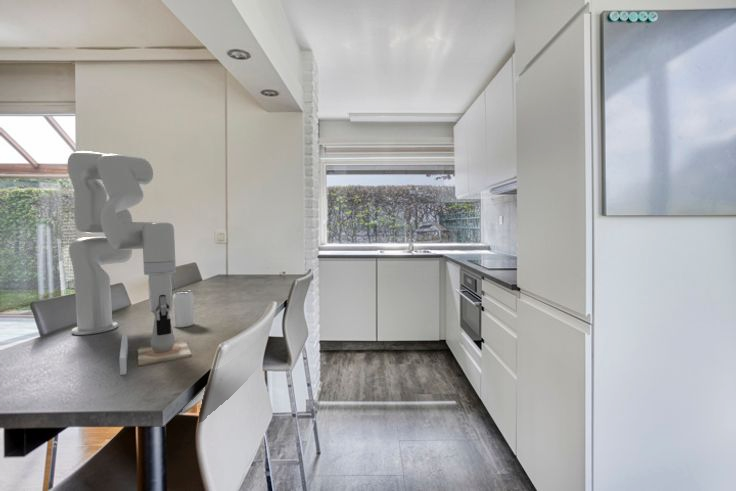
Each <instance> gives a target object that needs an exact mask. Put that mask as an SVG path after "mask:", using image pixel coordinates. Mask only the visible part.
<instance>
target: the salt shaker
mask: <svg viewBox="0 0 736 491" xmlns="http://www.w3.org/2000/svg"><path fill="white" fill-rule="evenodd" d="M168 306H169V305H168ZM170 311H171V309H170V310H169V312H170ZM159 313H160V312H159ZM152 314H154V319H153V320H154V321H153V327H152V333H151V334H152V335H151V340H150V346H151V347H152V348H153V350H154V352H155V353H164V352H168V351H170V350H172V348H173V346H174V343H175V342H176V338H175V335H174V330H173V327H172V325H171V333H170V334H166V335H159V336H158V335H157V324H156V320H157V309H156V310H155V311H153V312H152Z"/></svg>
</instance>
